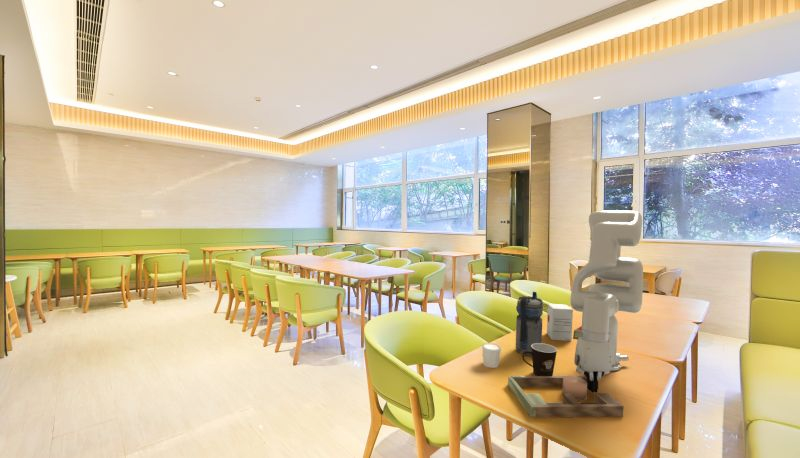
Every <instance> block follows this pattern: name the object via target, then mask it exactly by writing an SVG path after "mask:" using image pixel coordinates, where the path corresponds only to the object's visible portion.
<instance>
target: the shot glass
mask: <svg viewBox="0 0 800 458" xmlns="http://www.w3.org/2000/svg"><path fill="white" fill-rule="evenodd" d="M481 348H482V349H481V350H482V358H483V359H482V363H483V365H484V366H485V367H487V368H494V369H495V368H498V367H499V365H500V356H501V349H502V347H501V346H500V345H498V344H494V343H484V344H483V345H482V347H481Z"/></svg>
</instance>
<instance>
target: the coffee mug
mask: <svg viewBox="0 0 800 458" xmlns="http://www.w3.org/2000/svg"><path fill="white" fill-rule="evenodd" d="M531 350H532V352H529V351H526V352H524V353H523V354H522V356H521V359H522V360H523V361H524V363H526V365H528V366H530V367H531V368H532V371H533V376H554V370H555V364H556V357H557V353H558V350H557V348H556V347H555V346H554V345H552V344H547V343H535V344H532V345H531ZM526 353H530V354H531V355H532V356H531V359H532V364H531V363H530V362H528V361H526V359H525V356H526V355H525V354H526Z"/></svg>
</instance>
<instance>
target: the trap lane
mask: <svg viewBox="0 0 800 458" xmlns="http://www.w3.org/2000/svg"><path fill="white" fill-rule="evenodd" d="M564 376H565V375H553V376H535V375H532V376H531V375H529V376H527V375H522V374H521V375H518V374H517V375H511V376H509V375H508V376H507V386H508V388H510V390H511V392H512V393H513V394H514V395H515V397H516V399H517V400H518V401H519V403H520V404H521V405H522V406H523V408H524V410H525V411H526V412H527V414H529V416H530V418H578V417H579V418H584V417H585V418H588V417H589V418H591V417H598V418H599V417H600V418H601V417H604V418H605V417H624V407H625V406H624V405H623V404H622V403H620V402H619V401H618V400H617V399H615V398H614V397H613V396H612V395H610V394H609V393H608V392H601V393H600V392H598V393H595V392H594V402H590V401H589V402H583V401H582V402H579V400H576V399H575V398H574V397H573V396H572V395H571V394H570V393H563V392H562V394H563V395H562V397H563V398H562V402H546V401H545V400H544V399H543V397H542V396H541V395H540V394H539V393H525V392H524V390H523V388H525V387H526V388H527V387H531V388H532V387H548V388H549V387H563V377H564ZM575 376H576V377H579V378H582V379H584V380H585V381H586V382H587V377H586V376H585V375H575Z"/></svg>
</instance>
